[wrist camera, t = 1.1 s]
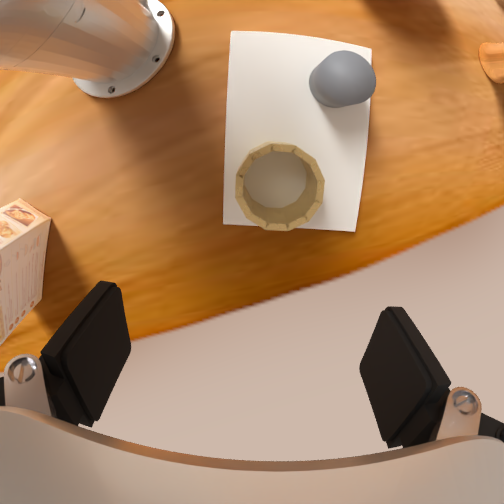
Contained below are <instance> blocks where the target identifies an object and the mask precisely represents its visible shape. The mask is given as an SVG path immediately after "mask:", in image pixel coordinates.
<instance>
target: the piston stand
mask: <svg viewBox="0 0 504 504" xmlns="http://www.w3.org/2000/svg"><path fill="white" fill-rule="evenodd" d="M375 87H376V77H375V73H374V70H373V68H372V67H371V49H370V48H366V47H362V46H357V45H353V44H349V43H344V42H339V41H334V40H328V39H322V38H316V37H309V36H302V35H294V34H284V33H272V32H255V31H231V39H230V54H229V71H228V89H227V109H226V132H225V161H224V201H223V224H227V225H250V226H258V225H257V224H255V223H253V222H252V221H250V220H249V219H247V218H246V217H245V215H244V213H243V211H242V210H241V208H240V206H239V204H238V202H237V201H236V199H235V184H236V173H237V170H238V168H239V166H240V164H241V163H242V161H243V160H244V158H245V157H246V155H247V153H248V152H249V150H251V149H253V148H255V147H257V146H259V145H261V144H263V143H265V142H267V141H273V142H286V143H290V144H293V145H296V146H297V147H299V148H300V149H302V150H303V151H304V152H306V153H307V154H309V155H310V156H312V157H313V158H314V159H316V162H317V164H318V166H319V168H320V170H321V173H322V175H323V177H324V179H325V185H324V194H323V202H322V204H321V206H320V207H319V209H318V210H317V211H316V213H315V214H314V215H313V217H312V218H311V219H310V221H309V222H307V223H305V224H302V225H300V226H298V227H296V228H307V229H323V230H339V231H353V232H355V229H356V223H357V217H358V211H359V204H360V198H361V191H362V183H363V176H364V167H365V159H366V149H367V139H368V127H369V113H370V97H371V96H372V94H373V93H374V90H375ZM306 175H307V172H306V170H305V168H304V166H303V164H302V161H301V159H300V158H299V157H298V156H296V155H295V154H293V153H291V152H278V151H272V152H270V153H268V154H266V155H264V156H262V157H260V158H258V159H256V160H254V161H253V163H252V164H251V166H250V167H249V169H248V170H247V172H246V174H245V181H244V185H245V187H246V189H247V191H248V192H249V194H250V196H251V198H252V199H253V200H255V201H256V202H258V203H260V204H261V205H263V206H264V207H270V208H283V207H285V206H287V205H289V204H291V203H294V202H296V201H297V199H298V198H299V196H300V195H301V194H302V192H303V191H304V189H305V186H306Z"/></svg>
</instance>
